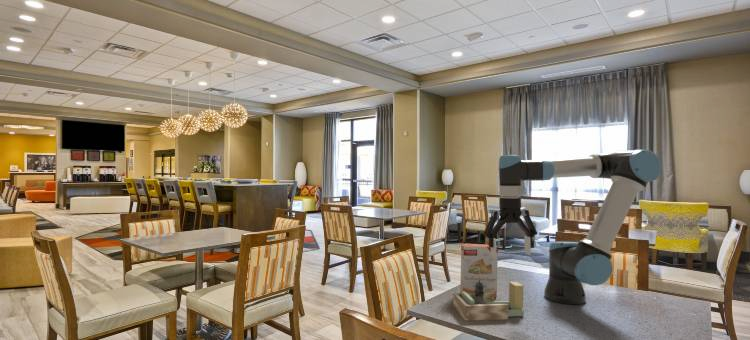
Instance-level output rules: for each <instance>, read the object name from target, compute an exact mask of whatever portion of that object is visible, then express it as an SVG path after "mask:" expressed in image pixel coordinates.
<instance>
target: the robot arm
mask: <svg viewBox="0 0 750 340" xmlns="http://www.w3.org/2000/svg"><path fill="white" fill-rule="evenodd" d="M521 157H522V156H521V155H520V154H505V155H500V156H499V160H498V178H499V179H498V185H499V186H498V189H499V191H498V192H499V193H498V194H499V200H498V201H499V202H498V203H499V204H498V205H499V210H498V211H496V210H491V214H490V218H489V220H488V223H487V224H486V227H485V229H484V230H483V236H484V237H486V238H487V239H488V245H489V247H491V256H493V257H496V247H497V239H496V237H497V235H498V233H499V232H500V230H501V229H502V228H503V226H505V224H511V223H513V224H517V225H518V227H520V229H521V230H522V231H523V233H525V235H524V236H523V237H524V238H523V239H524V240H523V241H524V246H523V247H524V254H525V255H528V256H531V253H532V251H531V246H533V238H534V237H535V236H536V235H538V231H537V229H536V226H535V225H534V223H533V220H532V218H531V216H530V210H528V209H522V198H521V196H522V181H523V182H525V181H527V182H528V181H529V182H531V181H542V182H543V181H549V180H552V179H553V178H554V179H555V178H573V177H575V178H576V177H591V178H592V179H609V180H611V182H612V183H611V186H610V188H609V190H608V192H607V195H605V198H604V200H603V202H602V203H601V204H602V205H601V206H600V209H598V212H597V214H596V216H595V219H594V220H593V223H592V224H591V227H590V229H589V231H588V232H587V234H586V237H585V238H584V239H581V240H579V241H551V242H550V243H549V249H548V252H549V255H548V257H549V261H548V262H549V263H548V264H549V265H548V266H549V269H548V273H549V274H548V280H547V282H546V285H545V287H544V290H543V291H544V294H543V295H544V297H545V298H546V299H547V300H550V301H551V302H552V301H553V302H555V303H560V304H565V305H581V304H584V303H586V298H587V297H586V293H585V290H584V287H583V284H586V285H589V286H599V285H602V284H604V283H606V282H607V281H608V280H609V279H610V278H611V276H612V274H613V263H612V261H611V259H612V257H613V254H612V252H611V248H612V246H613V244H614V241H615V240H616V238H617V235H618V234H619V231H620V229H621V227H622V225H623V224H624V221H625V219H626V217H627V215H628V213H629V211H630V209H631V207H632V206H633V203H634V202H635V201H634V200H635V199H636V196H637V194H638V193H640V192H642V191H645V189H646V187H647V185H648V183H649V182H653V181H656V180H657V179H659V177H660V175H661V173H662V168H663V167H662V162H661V160H660V158H659V156H658V154H656V153H655V152H653V151H652V150H649V149H641V148H640V149H639V148H638V149H630V150H629V149H627V150H616V151H611V152H605V153H599V154H591V155H589V156H588V157H569V158H548V159H529V160H527V159H526V160H524V159H523V160H522V158H521ZM521 209H522V210H521ZM521 216H522V217H523V220H524V221H523V220H522V218H521ZM498 217H500V218H499V219H498ZM524 222H525V223H524ZM582 283H583V284H582Z"/></svg>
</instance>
